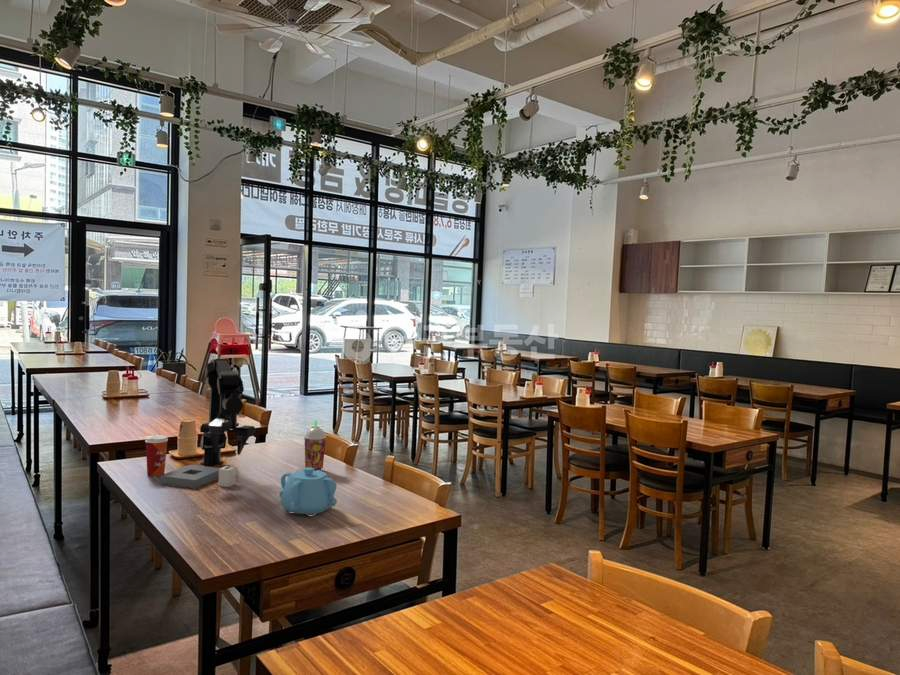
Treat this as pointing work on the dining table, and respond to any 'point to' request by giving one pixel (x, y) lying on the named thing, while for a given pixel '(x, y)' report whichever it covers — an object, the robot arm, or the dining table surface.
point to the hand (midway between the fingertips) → (227, 453)
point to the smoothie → (314, 448)
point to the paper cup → (156, 454)
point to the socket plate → (190, 476)
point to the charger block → (226, 476)
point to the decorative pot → (307, 491)
